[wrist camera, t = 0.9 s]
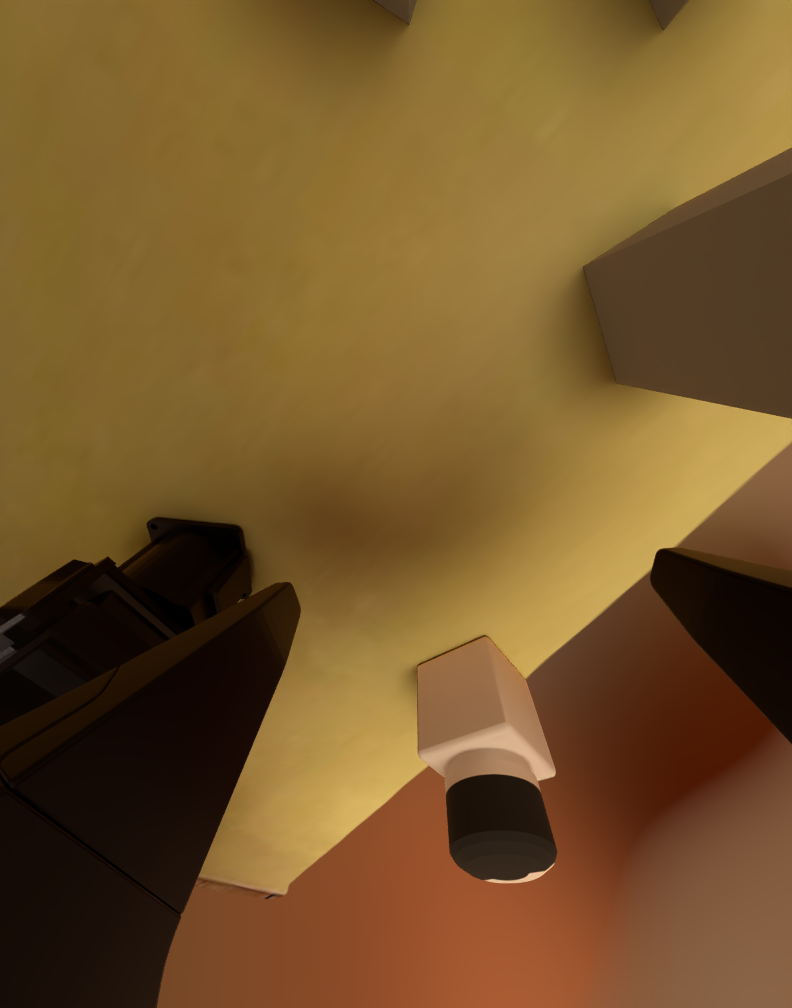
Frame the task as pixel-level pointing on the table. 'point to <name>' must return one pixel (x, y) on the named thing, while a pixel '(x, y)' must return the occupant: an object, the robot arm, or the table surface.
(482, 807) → the medicine bottle
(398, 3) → the grey block
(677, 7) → the grey rectangular block
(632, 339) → the tile
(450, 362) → the table surface
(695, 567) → the robot arm
